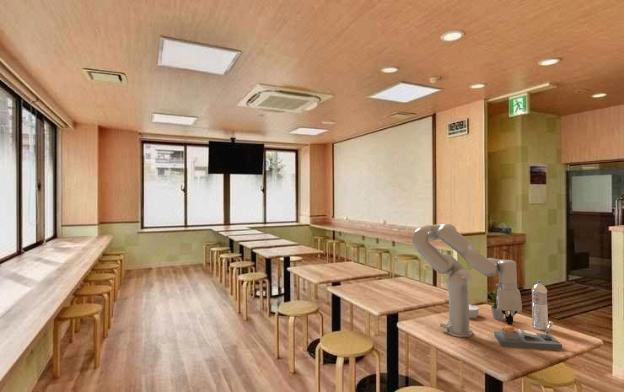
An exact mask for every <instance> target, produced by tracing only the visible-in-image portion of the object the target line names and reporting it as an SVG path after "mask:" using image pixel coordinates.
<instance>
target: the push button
mask: <svg viewBox="0 0 624 392" xmlns="http://www.w3.org/2000/svg"><path fill="white" fill-rule="evenodd" d="M503 328H504V332H511V333H514V329H515V327H514V326H513V325H504V326H503Z"/></svg>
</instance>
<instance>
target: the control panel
mask: <svg viewBox="0 0 624 392" xmlns="http://www.w3.org/2000/svg"><path fill="white" fill-rule="evenodd" d="M535 333H536V334H537V335H538V337H537V338H535V337H531V336H526V335H521V334H520V333H519V332H518V330H516V329H515V328H514V333H511V332H504V327H499V331H497V330H495V331H493V336H494V338H495V339H496V340H497V342H498V343H499V344H500V346H501V347H506V348H520V349H521V348H522V349H523V348H524V349H538V350H551V351H552V350H553V351H556V350H557V351H562V350H563V344H562V343H561V342H559V340H557V339H556V338H555V337H554V336H553V335H552V334H550V333H549V334H548V336H545V335H544V334H545V333H537V332H535Z"/></svg>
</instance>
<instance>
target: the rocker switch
mask: <svg viewBox="0 0 624 392" xmlns="http://www.w3.org/2000/svg"><path fill="white" fill-rule="evenodd" d="M517 332H519V333H520V334H521V335H526V336H531V337H535V338H537V337H538V335H537V334H536V333H537V332H534V331H532V330H526V329H521V328H518V329H517Z"/></svg>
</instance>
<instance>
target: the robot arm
mask: <svg viewBox="0 0 624 392" xmlns="http://www.w3.org/2000/svg"><path fill="white" fill-rule="evenodd" d="M434 240H435V241H437V240H438V241H439V240H440V241H442V243H444V244H446V245H447V246H448V247H449V248H451V249H452V250H453V251H455V252H456V253H457V254H458V255H460V257H461V258H462V259H464V261H465V262H466V263H468V264H469V266H471V267H472V268H473V269H475V270H476V271H477V272H479V273H480V274H481V275H482V276H485V277H494V276H495V275H496V274H498V283H497V282H496V283H495V286H496V287H497V289H496V291H497V300H496V304H497V311H498V312H502V313H503V314H504V319H505V323H506V324H507V326H513V324H514V317H515V316H516V315H517V314H520V313H522V310H523V304H522V303H523V302H522V296H521V292H520V288H518V278H517V277H518V276H517V262H516V261H515V260H512V259H499V258H495V257H488V258H487V257H485V256H483V254H482V253H480V252H479V251H478V250H477V249H476V248H475V246H474V244H473V243H472V241H471V240H469V239H468V238H466V236H464V235H462V233H460V232H458V231H457V228H456V226H454V225H453V224H451V223H443V224H442V223H441V224H428V225H427V224H426V225H422V226H420V227H418V228H416V229H415V230H414V232H413V233H412V237H411V243H412V247H413V249H414V250H415V251H416V252H417V253H418V254H419V256H420V257H421V258H423V259H424V260H425V262H426V263H428V265H430V266H431V267H432V268H433V270H434V271H436V273H438V274H439V275H447V276H448V278H447V291H448V292H447V293H448V313H449V314H448V316H449V318H448V319H449V321H447V322H446V323H439V327H440V328H442V329H443V330H446V333H447V334H449V335H451V336H452V337H453V336H454V337H456V338H469V337H472V336H473V333H474V331H473V330H472V329H471V328H470V318H469V304H470V303H469V302H470V300H469V287H468V286H469V285H470V282H471V281H472V280H471V279H472V276H471V273H470V272H469V270H468V269H466V267H464V266H463V264H461V263H460V262H459V261H458V260H457V259H456V258H454V257H453V256H452V255H451V254H448V253H442V252H440V251H439V250H438V248H436V247H435V246H434V245H432V244H431V243H430V241H434Z"/></svg>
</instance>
